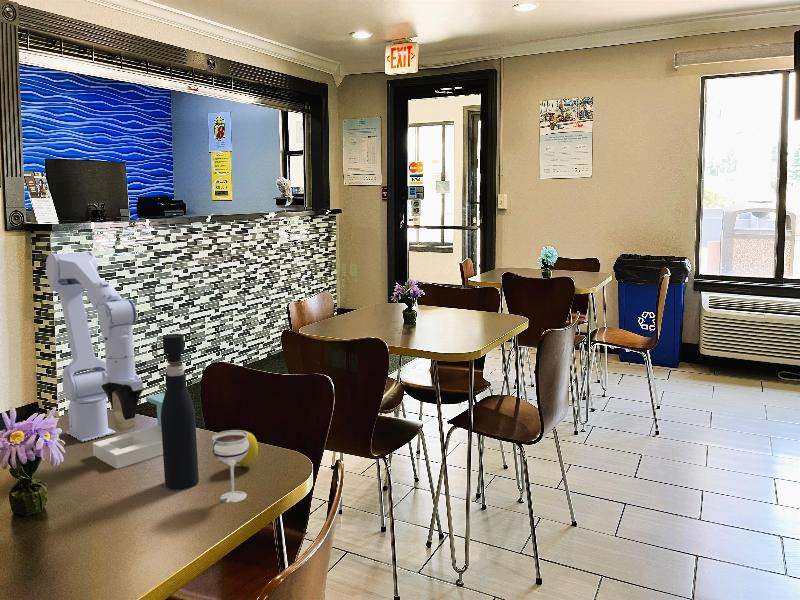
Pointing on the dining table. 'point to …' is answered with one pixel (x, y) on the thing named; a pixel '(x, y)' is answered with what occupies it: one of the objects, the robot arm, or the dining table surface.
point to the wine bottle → (178, 421)
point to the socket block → (133, 442)
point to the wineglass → (231, 456)
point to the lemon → (250, 451)
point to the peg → (120, 415)
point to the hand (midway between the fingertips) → (124, 416)
